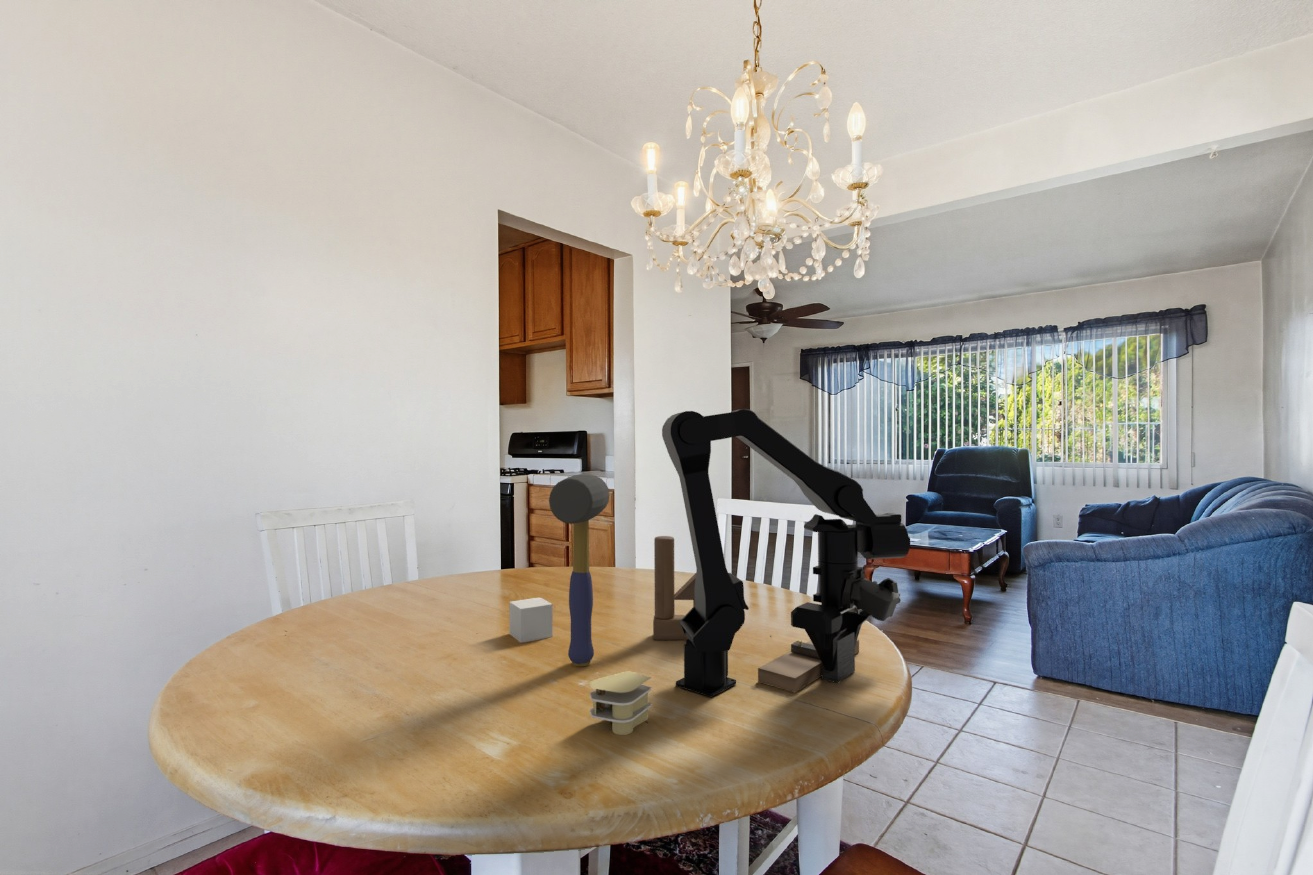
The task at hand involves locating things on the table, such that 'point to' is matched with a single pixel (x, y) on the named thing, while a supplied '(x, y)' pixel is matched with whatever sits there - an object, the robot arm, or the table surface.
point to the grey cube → (530, 619)
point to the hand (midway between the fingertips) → (838, 664)
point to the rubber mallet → (580, 553)
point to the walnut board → (792, 670)
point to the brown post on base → (668, 592)
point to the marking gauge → (842, 659)
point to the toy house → (621, 700)
